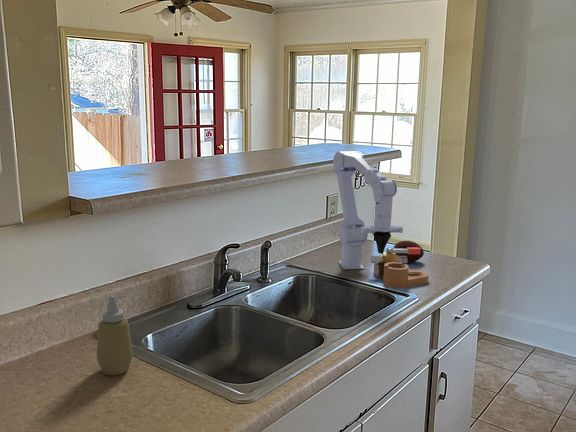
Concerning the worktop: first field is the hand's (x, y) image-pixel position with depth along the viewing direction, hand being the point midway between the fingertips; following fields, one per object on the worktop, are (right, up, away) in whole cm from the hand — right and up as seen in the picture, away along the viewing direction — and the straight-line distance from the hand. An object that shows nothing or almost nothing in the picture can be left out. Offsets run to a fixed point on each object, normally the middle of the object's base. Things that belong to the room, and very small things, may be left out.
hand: (380, 252), depth 192 cm
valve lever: (+9, -1, +7) cm, 12 cm away
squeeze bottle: (-72, -23, -65) cm, 100 cm away
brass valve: (+4, -9, +9) cm, 13 cm away
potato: (+15, -5, +27) cm, 31 cm away
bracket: (+9, -11, +2) cm, 14 cm away
